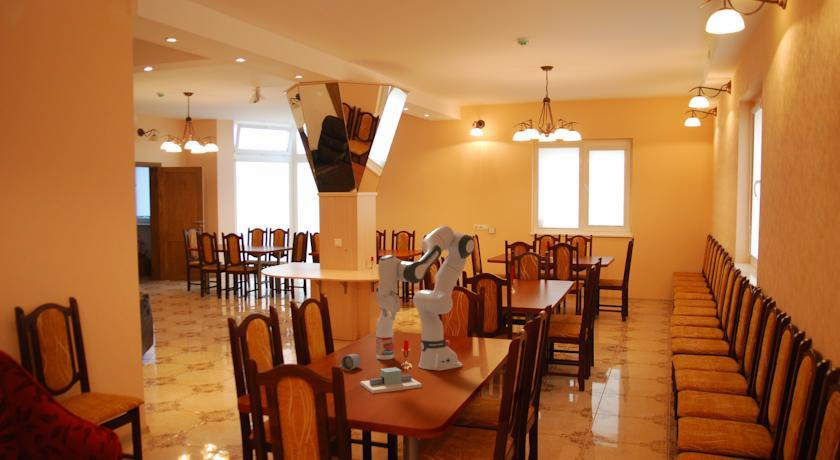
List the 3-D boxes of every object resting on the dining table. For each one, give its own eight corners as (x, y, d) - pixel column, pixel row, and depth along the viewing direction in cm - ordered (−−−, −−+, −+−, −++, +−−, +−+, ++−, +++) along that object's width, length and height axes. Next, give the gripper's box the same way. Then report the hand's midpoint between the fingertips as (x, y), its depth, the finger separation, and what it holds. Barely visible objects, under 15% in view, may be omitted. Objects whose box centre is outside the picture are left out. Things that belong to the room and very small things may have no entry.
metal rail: (409, 379, 319) (409, 374, 319) (411, 380, 317) (411, 375, 317) (369, 384, 311) (369, 379, 311) (371, 385, 309) (371, 380, 309)
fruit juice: (382, 355, 375) (382, 304, 374) (396, 357, 371) (396, 306, 369) (372, 358, 367) (372, 307, 366) (387, 360, 362) (387, 308, 361)
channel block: (396, 379, 319) (396, 367, 319) (401, 383, 313) (401, 370, 313) (380, 381, 315) (380, 369, 315) (385, 385, 310) (385, 372, 309)
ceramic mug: (362, 367, 348) (361, 352, 348) (353, 371, 341) (353, 356, 340) (344, 365, 353) (344, 351, 352) (335, 369, 345) (335, 354, 345)
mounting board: (407, 378, 326) (407, 375, 326) (421, 387, 312) (421, 383, 312) (360, 384, 316) (360, 381, 316) (372, 393, 302) (372, 390, 302)
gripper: (403, 292, 313) (403, 321, 314) (386, 286, 332) (387, 314, 333) (390, 293, 311) (391, 323, 312) (374, 287, 329) (374, 316, 330)
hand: (388, 318), depth 322 cm, fingers open, 8 cm apart
